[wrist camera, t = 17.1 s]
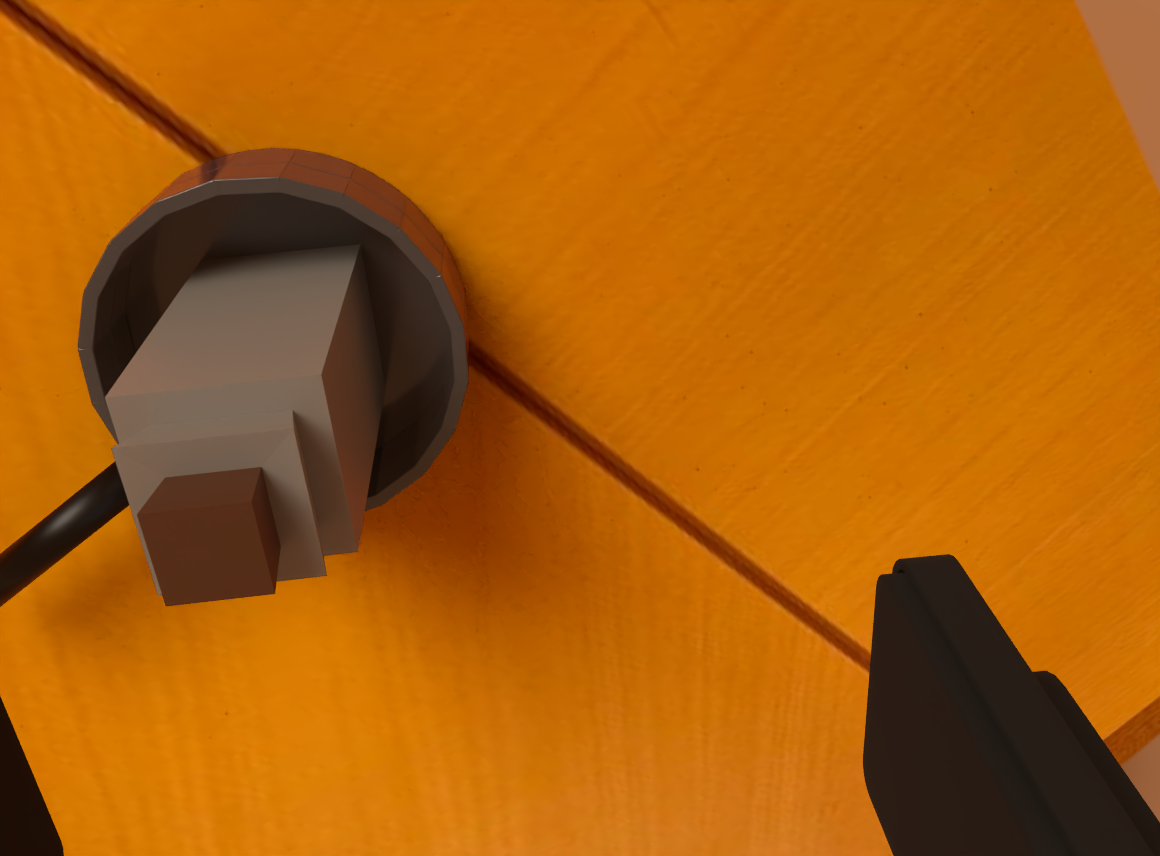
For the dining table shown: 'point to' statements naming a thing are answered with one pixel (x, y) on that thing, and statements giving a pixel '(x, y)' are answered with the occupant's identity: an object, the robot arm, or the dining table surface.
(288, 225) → the pan
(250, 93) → the dining table surface
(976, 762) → the robot arm
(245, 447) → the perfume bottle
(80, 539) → the pan handle
